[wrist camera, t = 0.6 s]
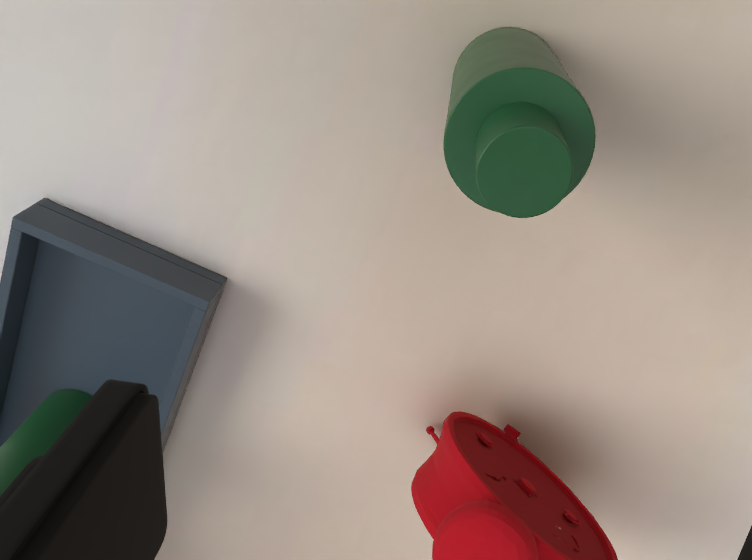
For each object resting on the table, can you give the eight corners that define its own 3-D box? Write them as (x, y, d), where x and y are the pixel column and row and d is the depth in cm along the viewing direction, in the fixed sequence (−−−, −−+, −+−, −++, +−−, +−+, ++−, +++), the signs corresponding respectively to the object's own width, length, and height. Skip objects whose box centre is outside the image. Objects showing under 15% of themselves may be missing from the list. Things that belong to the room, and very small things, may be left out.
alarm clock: (399, 418, 40) (361, 658, 27) (471, 346, 37) (469, 572, 24) (537, 515, 42) (566, 785, 28) (615, 453, 39) (688, 718, 26)
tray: (44, 197, 37) (12, 216, 34) (227, 277, 37) (209, 302, 35) (-43, 599, 52) (-69, 633, 49) (89, 651, 52) (69, 686, 50)
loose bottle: (482, 8, 30) (487, 56, 18) (579, 54, 30) (647, 133, 18) (435, 107, 32) (411, 210, 20) (526, 150, 32) (557, 276, 20)
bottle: (49, 376, 41) (-131, 562, 29) (124, 408, 41) (-22, 605, 29) (35, 433, 43) (-138, 629, 31) (107, 463, 43) (-37, 668, 31)
